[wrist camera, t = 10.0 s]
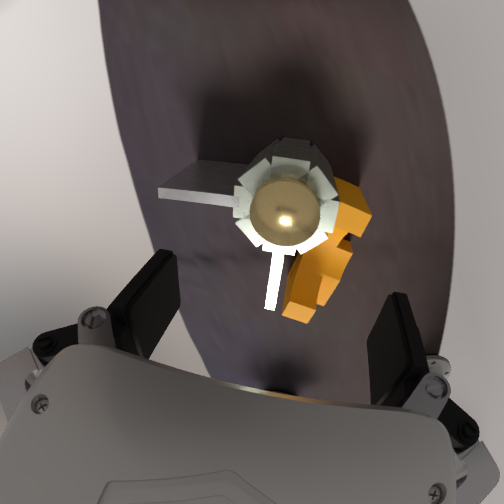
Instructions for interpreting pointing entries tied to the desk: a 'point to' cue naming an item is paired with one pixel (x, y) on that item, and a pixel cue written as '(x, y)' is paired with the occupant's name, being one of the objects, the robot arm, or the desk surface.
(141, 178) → the desk surface
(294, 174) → the hinge
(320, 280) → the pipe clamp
